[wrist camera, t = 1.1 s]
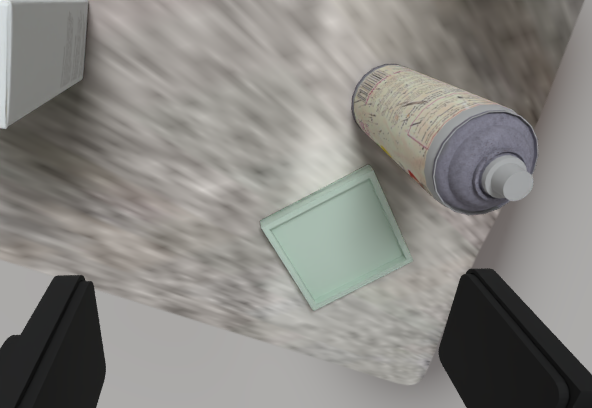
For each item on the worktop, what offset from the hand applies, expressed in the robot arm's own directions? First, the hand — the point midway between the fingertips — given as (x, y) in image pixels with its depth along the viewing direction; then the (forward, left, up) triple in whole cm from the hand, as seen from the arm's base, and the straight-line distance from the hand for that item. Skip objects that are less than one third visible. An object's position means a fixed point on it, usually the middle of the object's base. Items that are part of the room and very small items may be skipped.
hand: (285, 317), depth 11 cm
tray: (-2, +19, -30) cm, 35 cm away
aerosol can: (-12, +8, -30) cm, 33 cm away
